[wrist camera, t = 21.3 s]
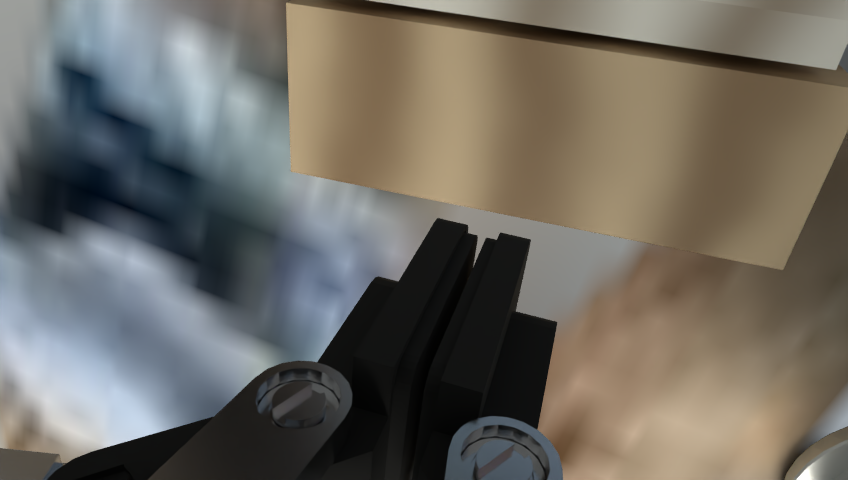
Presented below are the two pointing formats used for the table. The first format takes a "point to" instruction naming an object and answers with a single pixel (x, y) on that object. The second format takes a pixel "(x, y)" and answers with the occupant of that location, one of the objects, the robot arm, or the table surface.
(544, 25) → the grey long block
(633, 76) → the oak plank
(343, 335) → the robot arm
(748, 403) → the table surface
